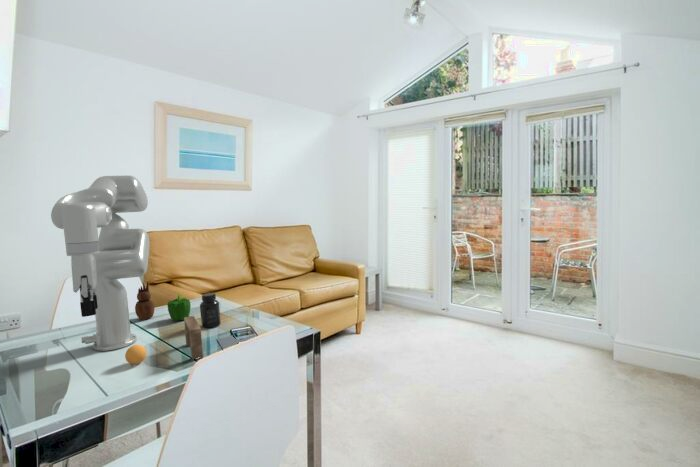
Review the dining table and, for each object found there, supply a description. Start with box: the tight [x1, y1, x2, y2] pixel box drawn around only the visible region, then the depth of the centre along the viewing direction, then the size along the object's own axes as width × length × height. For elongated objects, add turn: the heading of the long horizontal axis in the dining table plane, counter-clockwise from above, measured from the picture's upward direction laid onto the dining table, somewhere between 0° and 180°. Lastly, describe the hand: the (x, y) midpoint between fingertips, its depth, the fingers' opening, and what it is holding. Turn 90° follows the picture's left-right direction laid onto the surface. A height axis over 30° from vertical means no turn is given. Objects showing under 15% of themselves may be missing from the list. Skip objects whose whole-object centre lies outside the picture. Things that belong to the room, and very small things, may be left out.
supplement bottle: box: [199, 292, 221, 329], centre depth 146 cm, size 7×7×12 cm
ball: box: [124, 344, 147, 365], centre depth 115 cm, size 6×6×6 cm
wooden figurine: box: [134, 281, 155, 320], centre depth 157 cm, size 7×6×15 cm
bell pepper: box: [167, 293, 191, 322], centre depth 154 cm, size 8×8×10 cm
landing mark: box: [216, 335, 256, 350], centre depth 130 cm, size 12×12×1 cm
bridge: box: [183, 315, 204, 361], centre depth 122 cm, size 3×14×9 cm, turn 29°
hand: (90, 311), depth 108 cm, fingers open, 6 cm apart
